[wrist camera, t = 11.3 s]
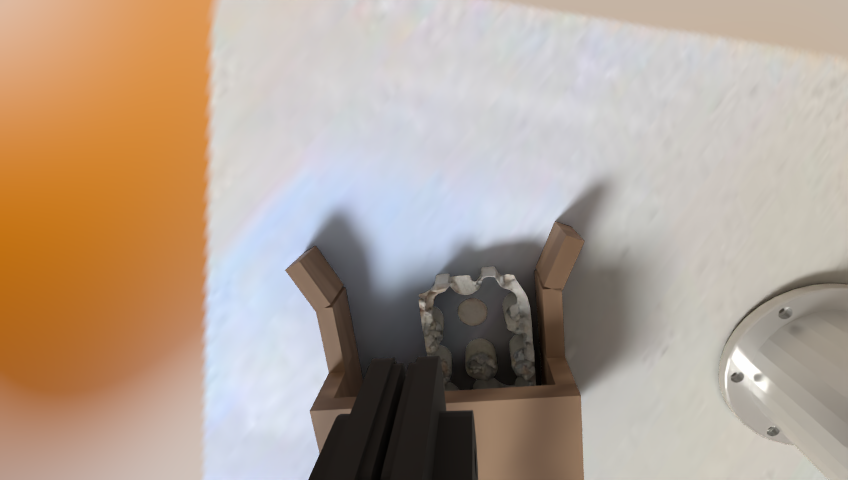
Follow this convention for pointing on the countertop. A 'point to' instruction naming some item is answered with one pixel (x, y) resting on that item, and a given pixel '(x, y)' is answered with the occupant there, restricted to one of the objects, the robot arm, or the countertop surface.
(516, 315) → the grey holed block
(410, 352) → the countertop surface
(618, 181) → the countertop surface
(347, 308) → the walnut garage
